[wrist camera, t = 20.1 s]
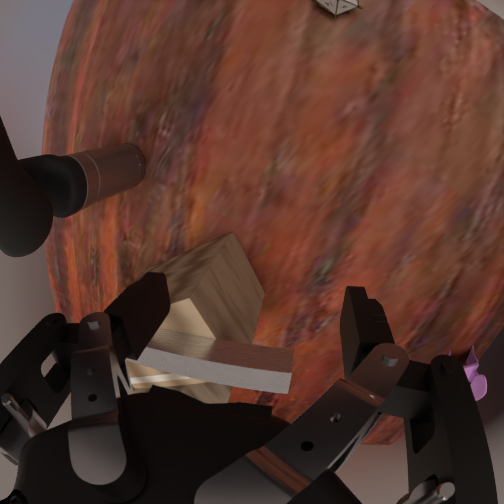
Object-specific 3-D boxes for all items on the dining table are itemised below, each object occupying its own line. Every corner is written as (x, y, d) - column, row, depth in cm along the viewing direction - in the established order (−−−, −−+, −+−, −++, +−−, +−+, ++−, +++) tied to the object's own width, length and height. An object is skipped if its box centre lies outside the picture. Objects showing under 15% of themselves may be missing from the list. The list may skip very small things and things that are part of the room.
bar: (127, 339, 38) (114, 356, 34) (121, 318, 36) (107, 335, 33) (290, 370, 35) (287, 393, 31) (294, 349, 33) (291, 373, 29)
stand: (184, 361, 70) (133, 464, 40) (126, 277, 62) (35, 371, 32) (288, 338, 61) (268, 477, 31) (233, 231, 53) (149, 360, 23)
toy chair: (448, 347, 55) (467, 390, 42) (474, 342, 53) (495, 381, 40) (440, 369, 58) (455, 411, 45) (465, 364, 56) (482, 403, 43)
